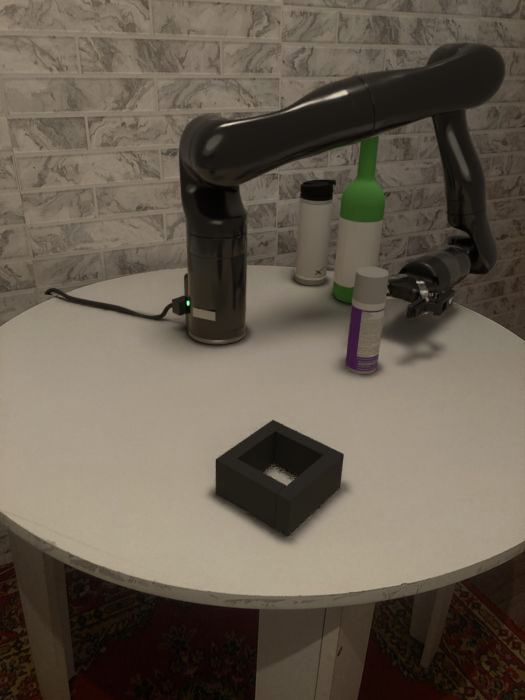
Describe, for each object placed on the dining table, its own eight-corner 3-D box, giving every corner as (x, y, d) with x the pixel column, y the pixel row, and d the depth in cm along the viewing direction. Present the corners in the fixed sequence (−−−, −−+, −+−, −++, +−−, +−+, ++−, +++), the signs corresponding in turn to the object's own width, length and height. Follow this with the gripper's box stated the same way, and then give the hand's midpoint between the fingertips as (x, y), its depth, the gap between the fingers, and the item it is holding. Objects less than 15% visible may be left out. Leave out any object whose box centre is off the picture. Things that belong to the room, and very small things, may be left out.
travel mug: (325, 287, 117) (334, 184, 107) (292, 284, 118) (298, 181, 109) (329, 276, 122) (337, 177, 113) (297, 273, 123) (303, 175, 114)
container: (342, 359, 91) (352, 265, 84) (372, 358, 91) (384, 265, 84) (348, 374, 87) (359, 277, 80) (380, 374, 87) (393, 277, 80)
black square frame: (215, 492, 63) (215, 459, 61) (271, 451, 70) (272, 419, 68) (287, 536, 58) (290, 501, 56) (340, 486, 65) (344, 453, 63)
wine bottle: (376, 306, 109) (398, 134, 95) (333, 304, 109) (350, 132, 95) (369, 290, 116) (390, 127, 102) (330, 289, 116) (344, 126, 102)
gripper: (394, 246, 102) (344, 269, 90) (475, 265, 94) (431, 294, 83) (388, 287, 105) (339, 314, 94) (466, 309, 97) (423, 342, 86)
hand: (382, 305), depth 88 cm, fingers open, 8 cm apart
